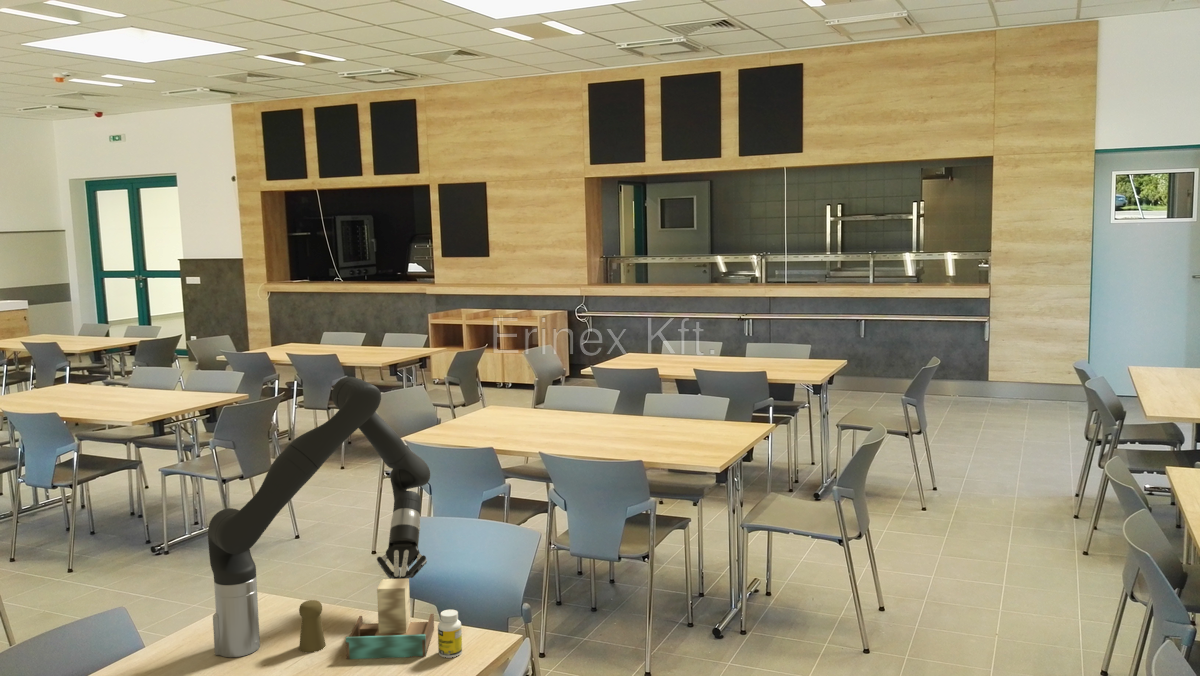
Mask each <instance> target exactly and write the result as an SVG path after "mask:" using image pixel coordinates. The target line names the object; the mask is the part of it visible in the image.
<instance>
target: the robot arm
mask: <svg viewBox="0 0 1200 676" xmlns="http://www.w3.org/2000/svg"><path fill="white" fill-rule="evenodd" d="M331 392H332V393H331V399H332V403H333V404H334V406H335V407H336V408H337V409H338V411H336V413H334V415H332V416H331V417H330V418H329V420H327V421H326V422H324V423H322V424H321V425H319V426H317V427H314V428H313V429H311V430H309V431H307V432H305V433H303V434H301V435H299V436H297V437H296V438H295V439H293V440H292V441H291V442H290V443H289V444H288V445H287V446H286V447H285V448H284V450H282V452H280V454H279V455H277V457H276V458H275V460H274V461H273V462H272V464H271V465H270V467H269V469H268V471H267V473H266V475H265V478H264V480H263V481H262V483H261V485H260V487H259V489H258V491H257V492H256V493H255V494H254V495H253V497H251V498H250V500H249V501H248V502H247V503H246V504H245V505H244V506H242V508H240V510H239V509H237V508H232V507H231V508H230V507H229V508H223V509H221V510H219V511H218V512H216V513H215V514H214V515H213V516H212V517H211V519H210V521H209V523H208V524H209V525H208V527H207V528H208V529H207V543H208V554H209V562H210V563H209V565H210V567H211V568H210V570H211V571H212V575H213V585H214V599H215V600H214V601H215V603H214V604H215V612H214V614H213V615H212V628H213V629H212V630H213V643H214V645H213V646H214V656H221V657H226V658H239V657H244V656H247V655H250V654H253V653H254V652H257V651H258V650H259V649H260V647H261V644H260V642H261V641H260V638H261V637H260V636H261V635H260V623H259V622H260V621H259V620H260V619H259V618H260V617H259V602H258V582H257V567H256V566H257V565H256V563H255V561H254V559H253V557H252V556H253V555H252V553H251V548H252V547H253V546H254V545H255V544H256V543H257V542H258V541H259V540H260V538H261V536H262V535H263V534H264V532H265V531H266V530H267V529H268V527H269V526H270V524H271V523H272V522H273V520H274V519H275V518H276V517H277V516H278V514H279V513H280V512H281V510H282V509H284V507H285V506H286V505H287V504H288V503H289V502H290V501H291V500H292V499H293V498H294V496H295V495H296V494H297V493H298V492H299V491H300V490H301V488H303V486H305V485H306V484H307V483H308V482H309V481H310V480H311V478H312V477H313V476H315V474H316V473H317V471H318V470H320V468H321V467H322V466H323V465H324V464H325V462H326V461H327V460H328V459H329V458H330V457H331V456H332V455H333V454H334V453H335V452H336V451H337V450H338V448H340V446H342V445H343V444H344V442H345V441H346V440H347V439H349V437H351V435H352V434H354V433H355V432H356V431H357V430H359V431H360V432H361V433H362V434H363V435H364V437H365V438H366V439H367V440H368V442H369V443H370V444H371V445H372V447H373V448H374V450H375V451H376V452H377V454H378V456H379V457H380V458H381V459H382V461H383V463H384V464H385V465H386V466H387V467H388V468H389V469H391V471H390V475H389V479H390V484H391V487H392V495H393V510H392V517H391V520H390V528H389V538H388V545H387V549H386V551H385V554H384V555H382V556H377V558H376V560H377V564H378V565H379V567H380V568H381V569H382V571H383V572H384V573H385V574H386V576H387V578H388V579H407V578H409V579H413V578H414V577H415V576H416V575H417V574H418V573H419V572H420V571H421V570H422V569H423V567H424V566H425V565H426V564H427V562H428V560H427V557H426V555H424V554H423V555H422V554H421V553H420V550H419V543H420V542H419V541H420V531H421V508H422V505H421V504H422V497H421V496H420V494H419V493H418V492H416V491H412V490H409V489H414V488H415V489H416V488H419V487H424V486H425V485H427V484H428V483H429V481H430V479H431V470H430V468H429V466H428V464H427V462H426V461H425V460H424V459H422V458H421V457H420V456H419V455H418V454H416V453H414V452H413V451H412V450H411V449H410V448H408V447H407V445H406V444H405V442H404V441H403V440H402V438H401V437H400V435H399V434H398V433H397V432H396V431H395V429H394V428H393V427H392V426H390V425H389V424H388V422H387V421H385V419H383V418H382V417H381V415H379V414H378V413H377V410H378V409H379V407H380V405H381V401H382V394H381V391H380V389H379V388H378V387H377V386H376V385H374V384H372V383H370V382H367V381H365V380H364V379H361V378H358V377H356V376H355V377H354V376H344V377H342V378H340V379H339V380H338V381H337V382H336V383H335V384H334V386H333V388H332V391H331ZM388 561H389V563H390V564H391V565H392V566H393V571H392V569H391V568H390V567H389V566H388ZM415 561H416V562H415ZM414 562H415V563H414Z"/></svg>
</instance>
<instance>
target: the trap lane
mask: <svg viewBox="0 0 1200 676" xmlns="http://www.w3.org/2000/svg"><path fill="white" fill-rule="evenodd" d="M434 617H435V615H434V613H430V614H429V619H428V621H413V622H411V621H410V624H409V627H408V630H407V632H406V633H384V634H379V625H378V622H377V623H375V622H373V623H370V622H369V623H364V621H363V615H359V616H358V617H357V620H356V622H355V624H354V626H353V628H352V629H351V632H350V634H349V635H348V636H346V637H345V653H346V655H345V656H346V660H357V659H358V660H359V659H360V660H361V659H362V660H363V659H388V658H394V659H395V658H413V657H412V656H425V657H426V656H427V653H428V650H429V648H430V644H431V641H432V638H433V635H434V631H435V618H434ZM410 656H411V657H410Z"/></svg>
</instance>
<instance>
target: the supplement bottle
mask: <svg viewBox="0 0 1200 676" xmlns="http://www.w3.org/2000/svg"><path fill="white" fill-rule="evenodd" d="M462 630H463V628H462V622H461V621H460V620H459V611H458V610H455V609H445V610H442V611H441V612H440V621H439V622H438V625H437V643H438V644H437V646H438V647H437V648H438V655H439V656H440V657H442V658H445V657H446V658H447V659H451V658H452V657H453V658H456V656H457V657H459V656H460V655H462V654H463V653H462V652H463V638H462V637H463V636H462V634H463V633H462V632H463V631H462ZM458 655H459V656H458ZM446 658H445V659H446Z"/></svg>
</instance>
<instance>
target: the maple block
mask: <svg viewBox="0 0 1200 676" xmlns="http://www.w3.org/2000/svg"><path fill="white" fill-rule="evenodd" d="M376 595H377V619H378V620H377V621H378V622H377V623H378V625H379V634H384V633H406V632H407V630H408V627H409V624H410V622H411V598H410V578H407V579H392V578H391V579H390V578H386V579H385V578H384V579H383V578H382V579H381V580H380V582H379V584H378V586H377V589H376Z"/></svg>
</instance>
